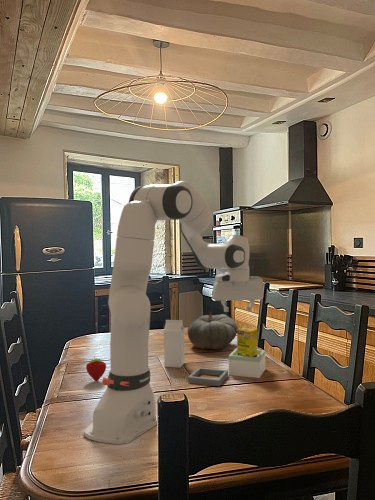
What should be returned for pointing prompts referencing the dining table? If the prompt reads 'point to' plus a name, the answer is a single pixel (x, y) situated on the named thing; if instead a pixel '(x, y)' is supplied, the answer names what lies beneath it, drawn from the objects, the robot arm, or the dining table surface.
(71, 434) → the dining table surface
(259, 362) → the white box and frame
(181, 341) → the milk carton
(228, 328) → the gourd
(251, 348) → the supplement box
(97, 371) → the strawberry
